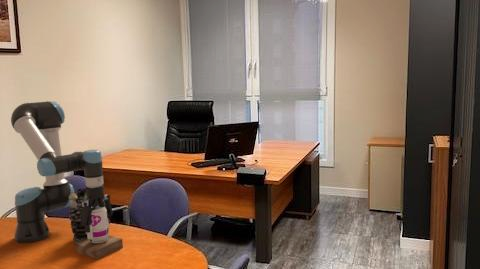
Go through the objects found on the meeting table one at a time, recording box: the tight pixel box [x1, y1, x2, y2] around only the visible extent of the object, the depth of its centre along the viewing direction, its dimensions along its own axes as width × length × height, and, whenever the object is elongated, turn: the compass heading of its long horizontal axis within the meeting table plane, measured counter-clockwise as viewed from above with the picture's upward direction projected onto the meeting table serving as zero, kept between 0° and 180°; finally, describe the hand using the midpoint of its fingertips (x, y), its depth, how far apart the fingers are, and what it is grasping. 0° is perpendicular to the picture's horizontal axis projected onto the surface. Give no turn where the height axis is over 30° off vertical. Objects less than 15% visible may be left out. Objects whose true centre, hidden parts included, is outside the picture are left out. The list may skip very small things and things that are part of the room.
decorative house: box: [68, 188, 106, 244], centre depth 201 cm, size 21×15×25 cm
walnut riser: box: [75, 234, 124, 260], centre depth 187 cm, size 14×14×4 cm
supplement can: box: [89, 206, 109, 244], centre depth 186 cm, size 8×8×15 cm
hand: (98, 235), depth 187 cm, fingers closed on supplement can, 8 cm apart
